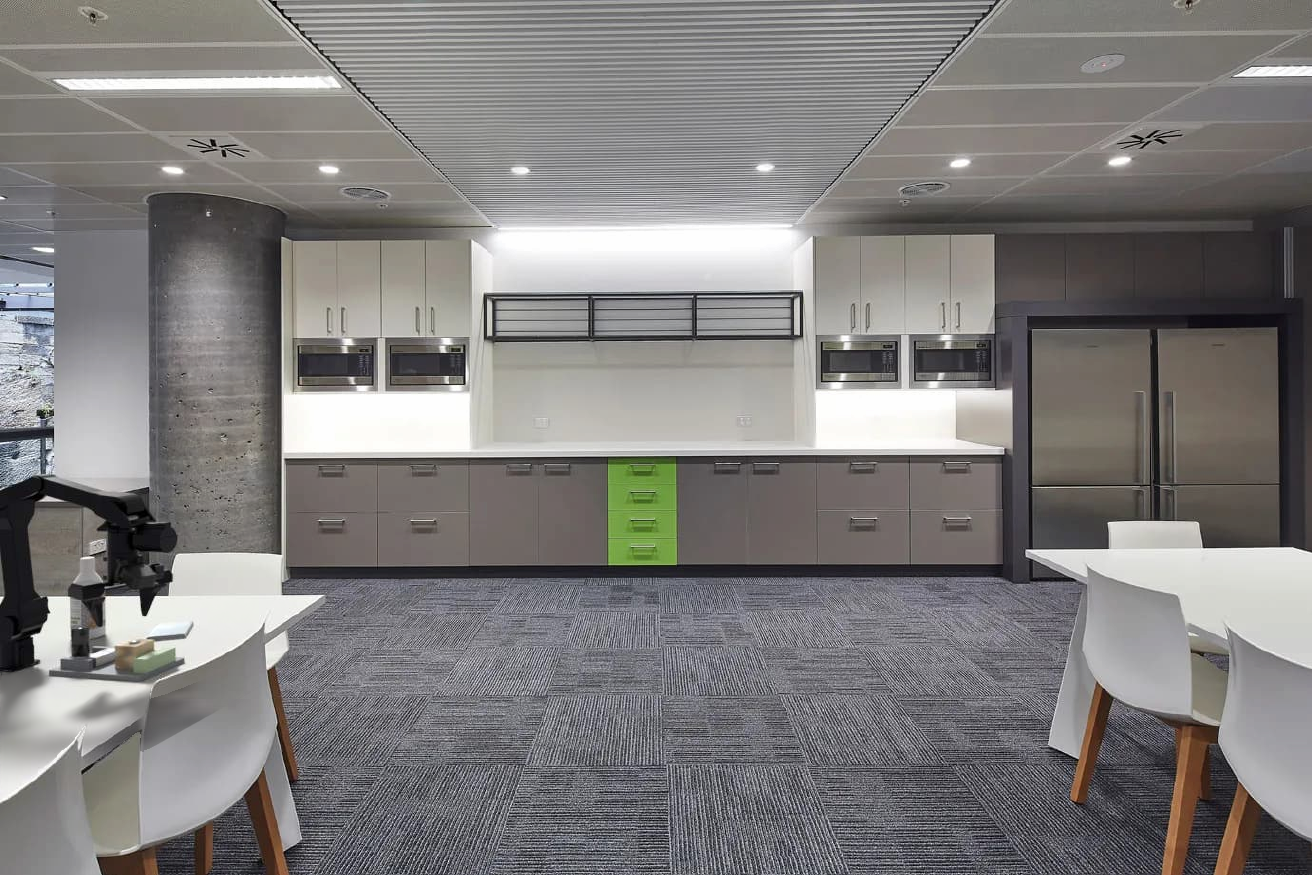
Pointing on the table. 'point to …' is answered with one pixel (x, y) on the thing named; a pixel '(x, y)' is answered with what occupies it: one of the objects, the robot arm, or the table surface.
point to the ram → (88, 647)
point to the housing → (131, 652)
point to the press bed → (142, 668)
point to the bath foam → (78, 609)
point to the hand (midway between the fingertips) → (122, 621)
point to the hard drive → (170, 630)
